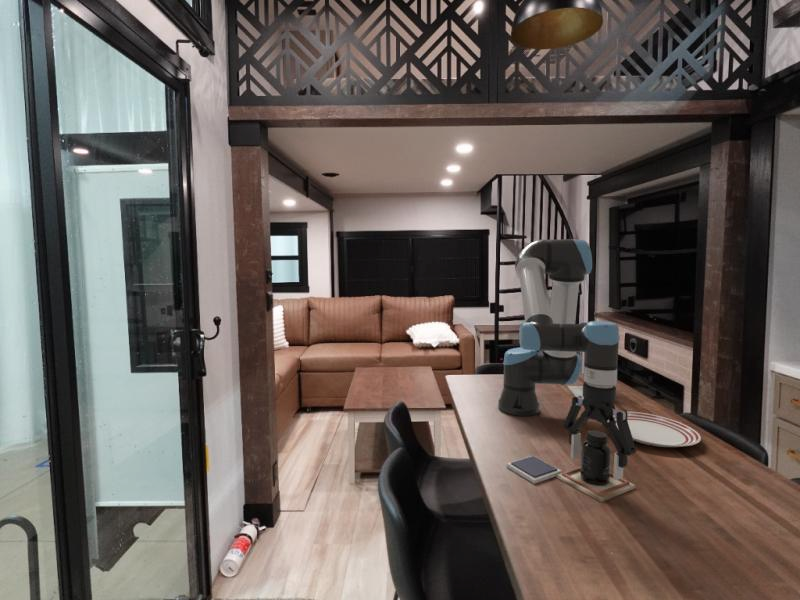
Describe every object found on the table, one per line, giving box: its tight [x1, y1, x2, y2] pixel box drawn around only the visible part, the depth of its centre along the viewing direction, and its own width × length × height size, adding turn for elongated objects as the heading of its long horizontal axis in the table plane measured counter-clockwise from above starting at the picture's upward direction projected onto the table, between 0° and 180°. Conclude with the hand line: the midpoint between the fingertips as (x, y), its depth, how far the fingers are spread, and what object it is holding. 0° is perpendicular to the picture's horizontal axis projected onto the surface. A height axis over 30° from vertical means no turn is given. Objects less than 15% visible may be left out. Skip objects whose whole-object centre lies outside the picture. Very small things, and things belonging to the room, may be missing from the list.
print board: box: [556, 465, 636, 503], centre depth 107 cm, size 13×13×1 cm
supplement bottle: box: [580, 430, 612, 486], centre depth 107 cm, size 7×7×12 cm
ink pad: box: [506, 455, 563, 485], centre depth 113 cm, size 10×10×1 cm
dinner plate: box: [607, 411, 702, 448], centre depth 137 cm, size 27×27×3 cm
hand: (595, 467), depth 107 cm, fingers open, 11 cm apart
